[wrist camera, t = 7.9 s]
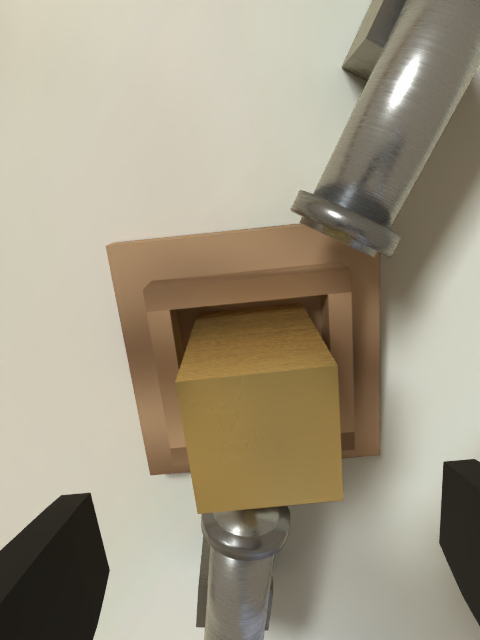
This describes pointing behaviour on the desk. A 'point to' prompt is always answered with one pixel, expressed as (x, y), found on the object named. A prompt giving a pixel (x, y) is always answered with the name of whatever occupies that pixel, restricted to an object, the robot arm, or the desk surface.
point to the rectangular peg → (260, 410)
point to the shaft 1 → (239, 571)
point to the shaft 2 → (393, 116)
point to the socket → (241, 293)
